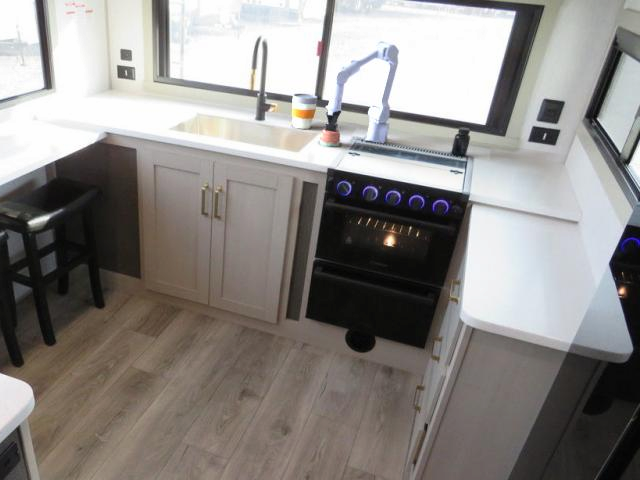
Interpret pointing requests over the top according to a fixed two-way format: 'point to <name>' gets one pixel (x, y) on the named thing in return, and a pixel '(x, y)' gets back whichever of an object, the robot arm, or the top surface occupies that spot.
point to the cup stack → (330, 138)
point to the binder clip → (333, 127)
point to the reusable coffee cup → (303, 110)
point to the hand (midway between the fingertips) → (331, 127)
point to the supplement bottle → (461, 142)
